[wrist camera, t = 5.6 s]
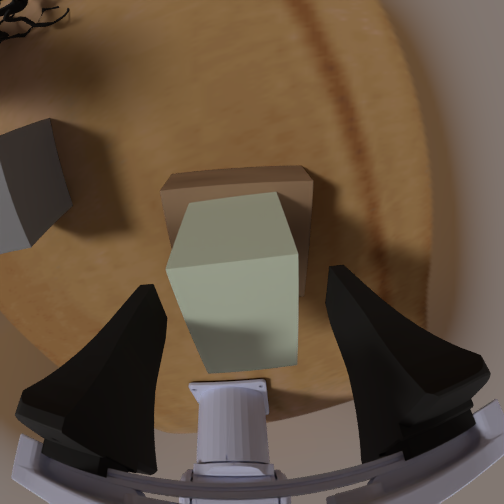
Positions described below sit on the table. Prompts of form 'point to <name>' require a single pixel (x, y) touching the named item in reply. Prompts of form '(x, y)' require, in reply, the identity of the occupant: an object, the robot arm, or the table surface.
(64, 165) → the table surface
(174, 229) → the walnut block
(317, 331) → the table surface
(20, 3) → the creature
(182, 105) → the table surface
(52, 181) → the charcoal brick
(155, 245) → the table surface
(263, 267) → the sage brick
